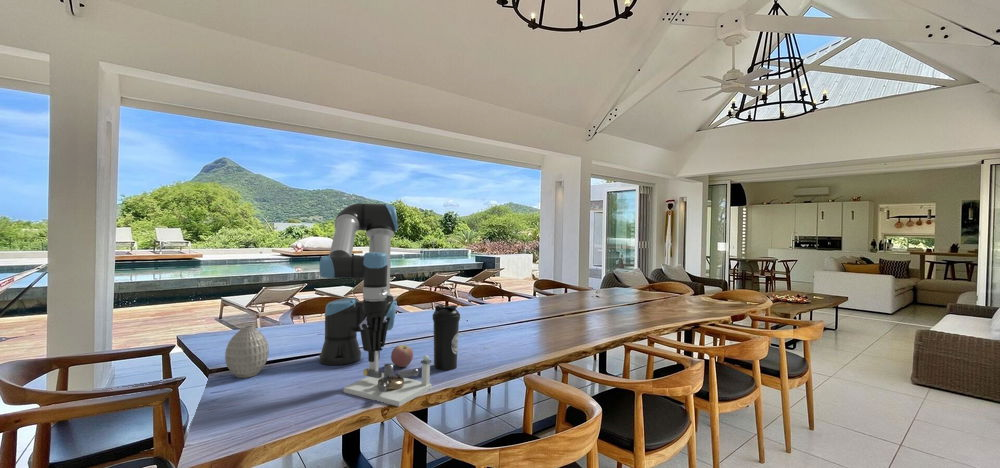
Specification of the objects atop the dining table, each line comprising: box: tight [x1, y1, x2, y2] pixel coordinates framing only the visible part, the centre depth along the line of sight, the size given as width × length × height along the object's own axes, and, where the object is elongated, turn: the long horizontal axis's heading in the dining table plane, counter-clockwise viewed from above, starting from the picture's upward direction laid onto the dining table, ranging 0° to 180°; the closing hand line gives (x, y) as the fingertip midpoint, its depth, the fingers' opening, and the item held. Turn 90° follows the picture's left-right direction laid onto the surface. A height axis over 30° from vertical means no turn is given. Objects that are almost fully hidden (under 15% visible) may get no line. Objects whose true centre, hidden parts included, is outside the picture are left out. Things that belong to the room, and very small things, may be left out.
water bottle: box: [432, 304, 461, 372], centre depth 157 cm, size 10×10×23 cm
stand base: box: [343, 355, 433, 408], centre depth 133 cm, size 22×16×11 cm
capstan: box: [362, 362, 420, 392], centre depth 134 cm, size 16×18×6 cm
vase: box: [224, 324, 270, 379], centre depth 144 cm, size 13×13×17 cm
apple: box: [390, 344, 414, 368], centre depth 156 cm, size 8×8×8 cm
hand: (373, 370), depth 138 cm, fingers closed
